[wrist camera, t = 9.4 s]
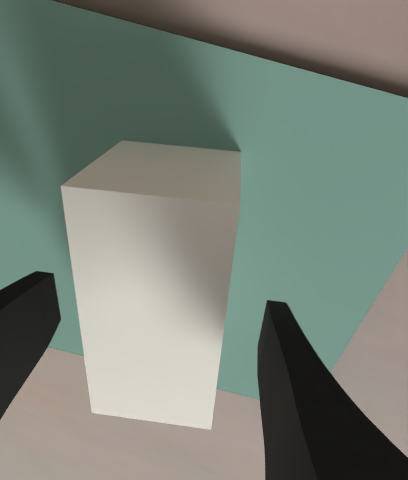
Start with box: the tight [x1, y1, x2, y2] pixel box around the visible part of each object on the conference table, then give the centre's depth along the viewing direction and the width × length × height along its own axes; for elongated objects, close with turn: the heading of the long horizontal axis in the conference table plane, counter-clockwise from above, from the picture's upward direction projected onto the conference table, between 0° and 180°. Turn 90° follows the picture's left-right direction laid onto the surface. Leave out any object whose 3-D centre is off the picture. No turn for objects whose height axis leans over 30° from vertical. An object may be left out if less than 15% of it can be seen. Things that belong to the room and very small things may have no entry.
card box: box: [61, 140, 242, 430], centre depth 13 cm, size 9×4×5 cm, turn 176°
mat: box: [0, 0, 408, 400], centre depth 15 cm, size 18×16×1 cm
